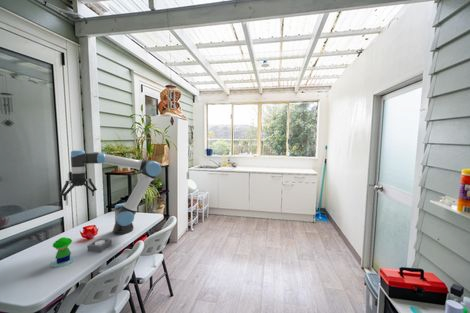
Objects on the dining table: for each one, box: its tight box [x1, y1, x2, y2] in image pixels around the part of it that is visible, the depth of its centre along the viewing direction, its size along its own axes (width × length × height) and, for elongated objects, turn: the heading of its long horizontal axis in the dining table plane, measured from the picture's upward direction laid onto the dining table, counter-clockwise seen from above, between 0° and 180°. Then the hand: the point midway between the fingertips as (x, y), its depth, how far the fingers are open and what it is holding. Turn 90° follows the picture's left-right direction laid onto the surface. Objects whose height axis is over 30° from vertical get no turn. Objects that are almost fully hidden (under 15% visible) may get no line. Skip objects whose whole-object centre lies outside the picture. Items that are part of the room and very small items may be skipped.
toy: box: [52, 237, 73, 264], centre depth 119 cm, size 9×9×15 cm
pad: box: [50, 255, 76, 269], centre depth 120 cm, size 11×11×1 cm
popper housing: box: [86, 238, 113, 253], centre depth 136 cm, size 10×10×4 cm
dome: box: [95, 240, 105, 245], centre depth 136 cm, size 6×6×3 cm
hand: (79, 202), depth 136 cm, fingers open, 13 cm apart
